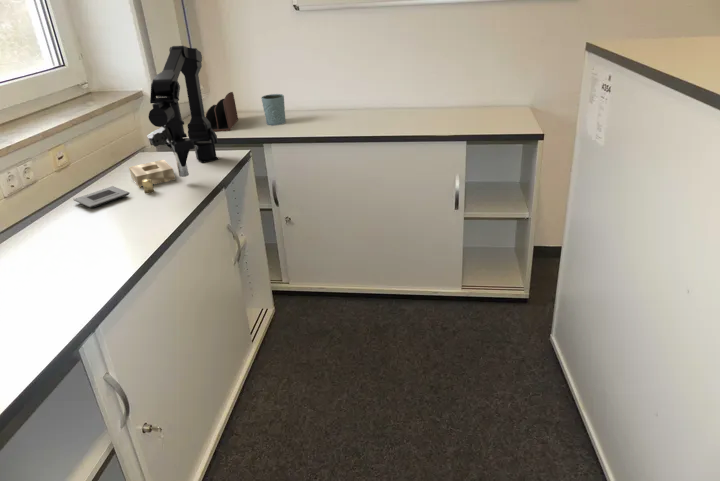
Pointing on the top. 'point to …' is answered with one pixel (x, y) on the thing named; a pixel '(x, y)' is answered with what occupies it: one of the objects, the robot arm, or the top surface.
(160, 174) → the hole block
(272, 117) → the teal embossed pot
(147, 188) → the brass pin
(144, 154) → the top surface
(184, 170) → the steel pin
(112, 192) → the grey rectangular tray
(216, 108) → the letter holder
